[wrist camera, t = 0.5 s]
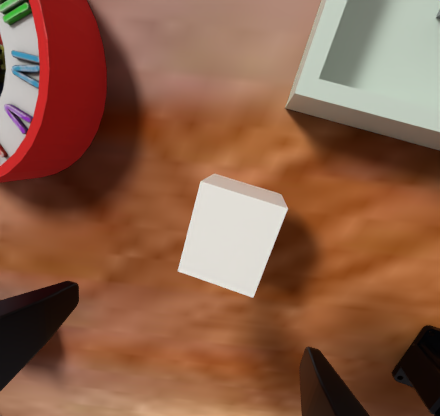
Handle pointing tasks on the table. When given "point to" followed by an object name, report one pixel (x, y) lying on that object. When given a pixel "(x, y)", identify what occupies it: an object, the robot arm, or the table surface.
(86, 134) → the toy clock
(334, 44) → the walled box
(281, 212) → the block
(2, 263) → the table surface
